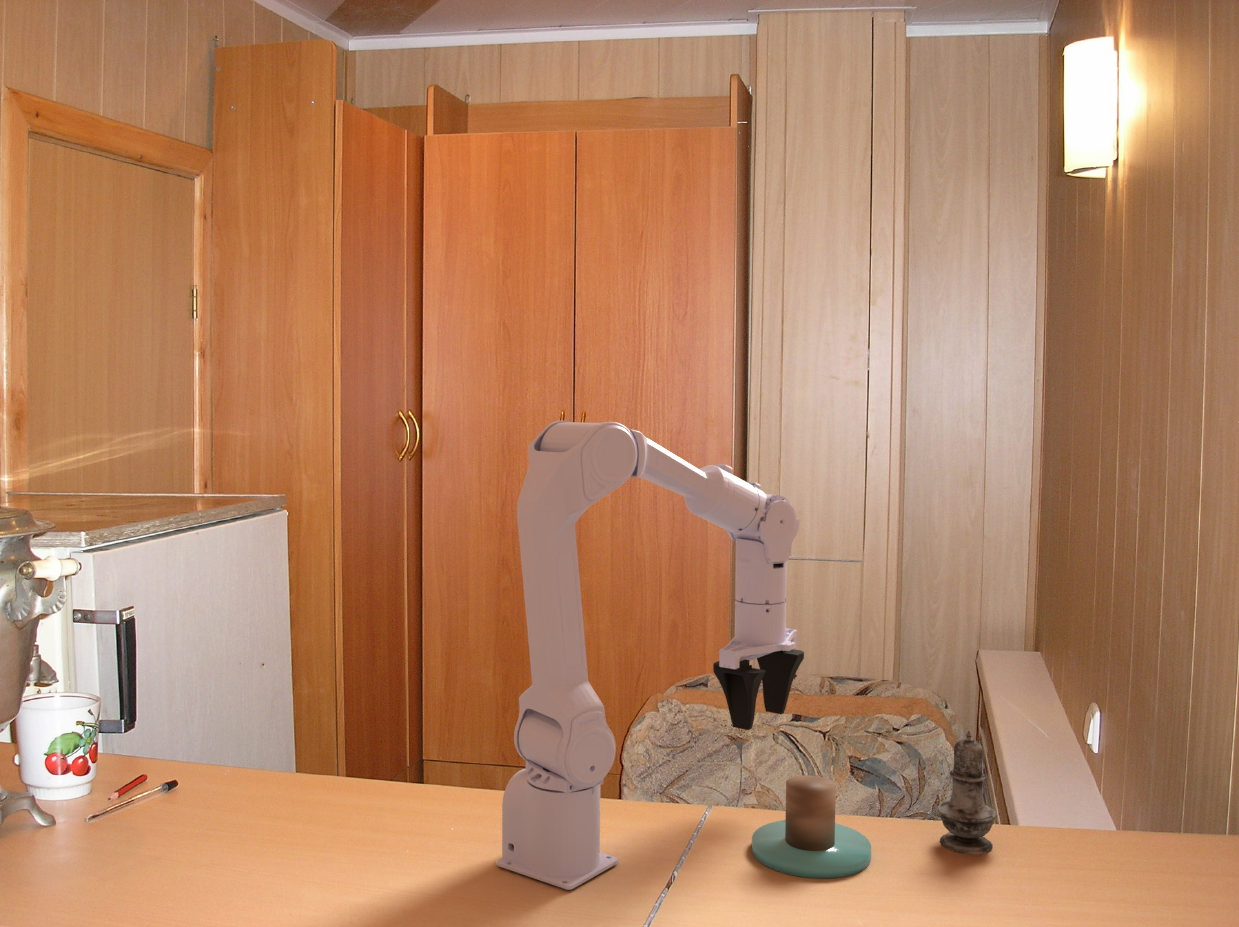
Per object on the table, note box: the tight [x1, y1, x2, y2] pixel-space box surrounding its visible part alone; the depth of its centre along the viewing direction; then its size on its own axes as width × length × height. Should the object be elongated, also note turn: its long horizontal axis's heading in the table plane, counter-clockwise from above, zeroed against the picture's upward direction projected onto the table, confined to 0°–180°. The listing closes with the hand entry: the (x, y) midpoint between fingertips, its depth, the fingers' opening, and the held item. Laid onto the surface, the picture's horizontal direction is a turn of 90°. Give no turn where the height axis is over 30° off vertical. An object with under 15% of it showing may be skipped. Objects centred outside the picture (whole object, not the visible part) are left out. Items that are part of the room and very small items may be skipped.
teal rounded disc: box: [751, 819, 872, 879], centre depth 111 cm, size 12×12×1 cm
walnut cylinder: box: [784, 774, 837, 851], centre depth 110 cm, size 5×5×6 cm
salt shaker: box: [937, 730, 997, 855], centre depth 113 cm, size 6×6×12 cm
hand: (758, 719), depth 122 cm, fingers open, 7 cm apart
